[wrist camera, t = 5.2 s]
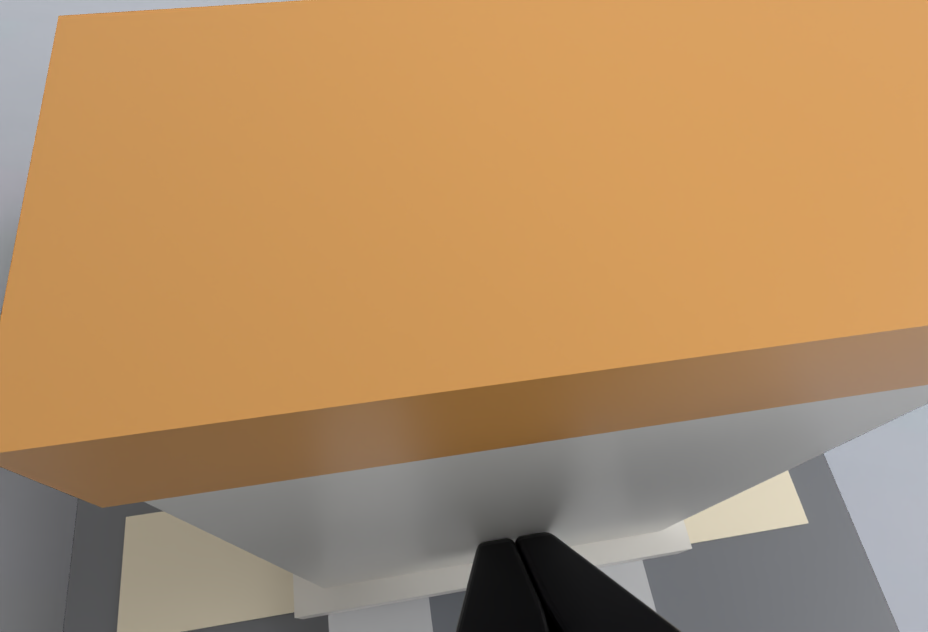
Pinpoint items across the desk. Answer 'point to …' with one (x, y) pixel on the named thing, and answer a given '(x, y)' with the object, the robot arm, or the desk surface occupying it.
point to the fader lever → (464, 270)
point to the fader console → (435, 618)
